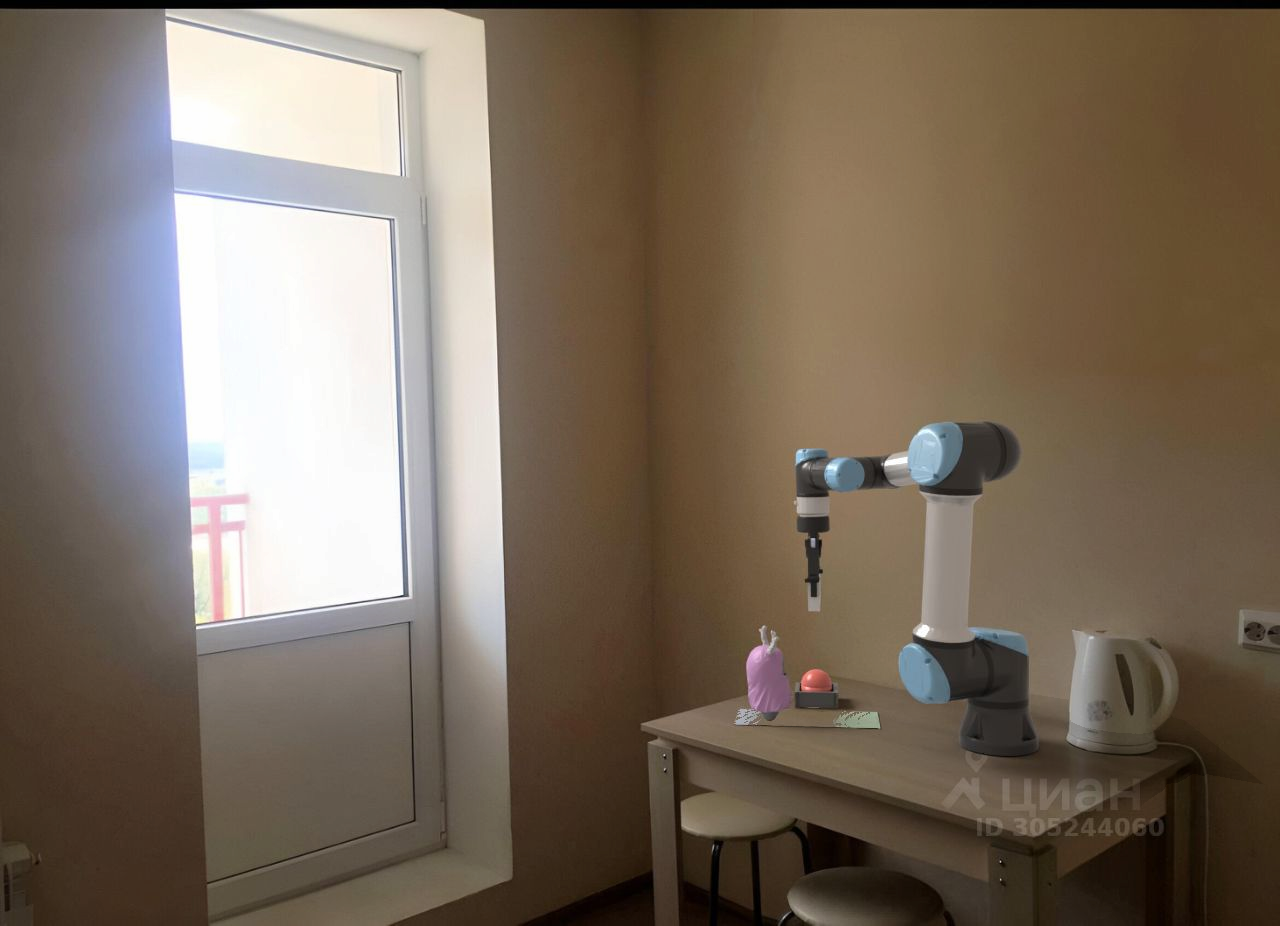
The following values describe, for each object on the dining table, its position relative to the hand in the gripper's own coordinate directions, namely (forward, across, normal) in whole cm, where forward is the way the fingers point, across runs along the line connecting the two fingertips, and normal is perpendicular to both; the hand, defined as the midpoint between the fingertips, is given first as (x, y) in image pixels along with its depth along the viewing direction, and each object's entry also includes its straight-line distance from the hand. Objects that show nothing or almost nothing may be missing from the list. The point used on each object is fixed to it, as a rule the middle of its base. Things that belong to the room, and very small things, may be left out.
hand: (814, 606), depth 246 cm
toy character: (+23, +14, -10) cm, 28 cm away
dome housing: (+23, 0, 0) cm, 23 cm away
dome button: (+22, 0, 0) cm, 22 cm away
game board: (+23, +14, -2) cm, 27 cm away
